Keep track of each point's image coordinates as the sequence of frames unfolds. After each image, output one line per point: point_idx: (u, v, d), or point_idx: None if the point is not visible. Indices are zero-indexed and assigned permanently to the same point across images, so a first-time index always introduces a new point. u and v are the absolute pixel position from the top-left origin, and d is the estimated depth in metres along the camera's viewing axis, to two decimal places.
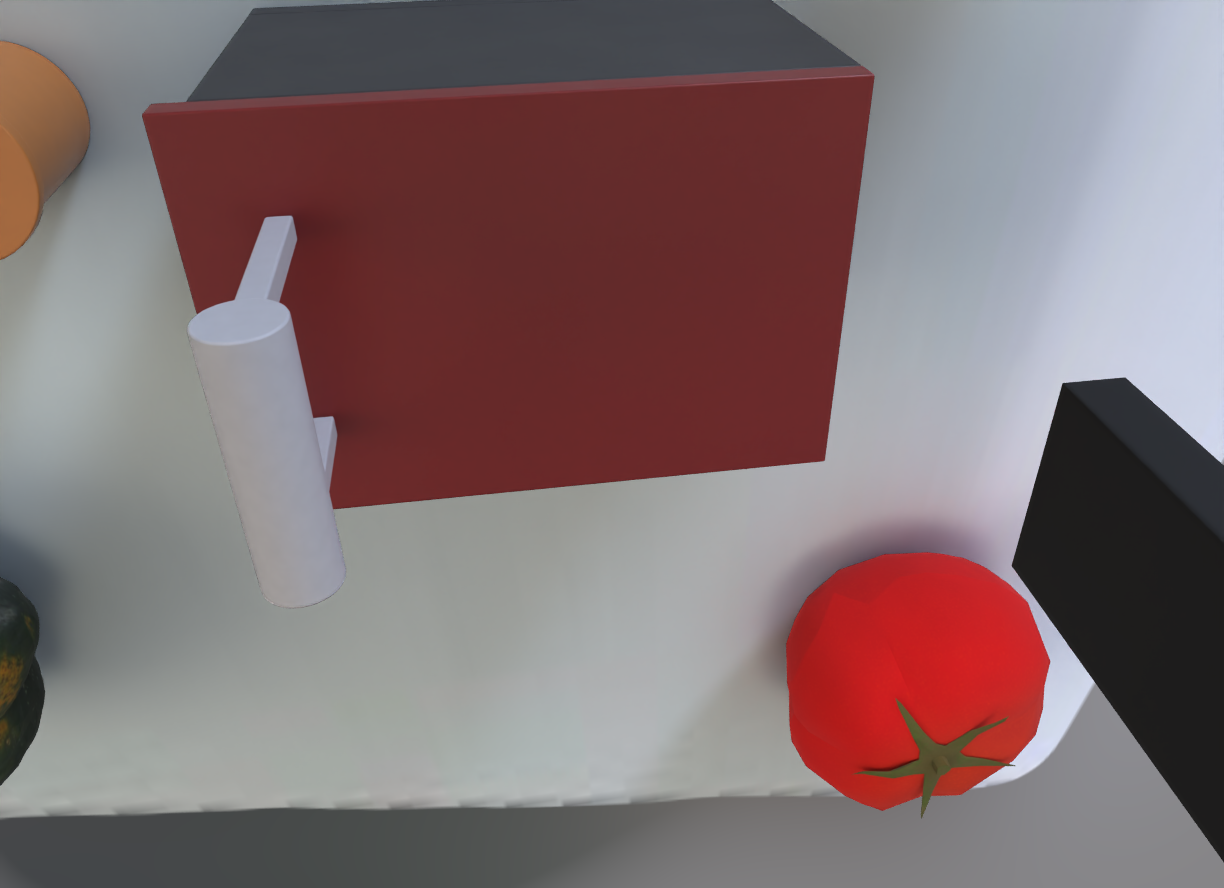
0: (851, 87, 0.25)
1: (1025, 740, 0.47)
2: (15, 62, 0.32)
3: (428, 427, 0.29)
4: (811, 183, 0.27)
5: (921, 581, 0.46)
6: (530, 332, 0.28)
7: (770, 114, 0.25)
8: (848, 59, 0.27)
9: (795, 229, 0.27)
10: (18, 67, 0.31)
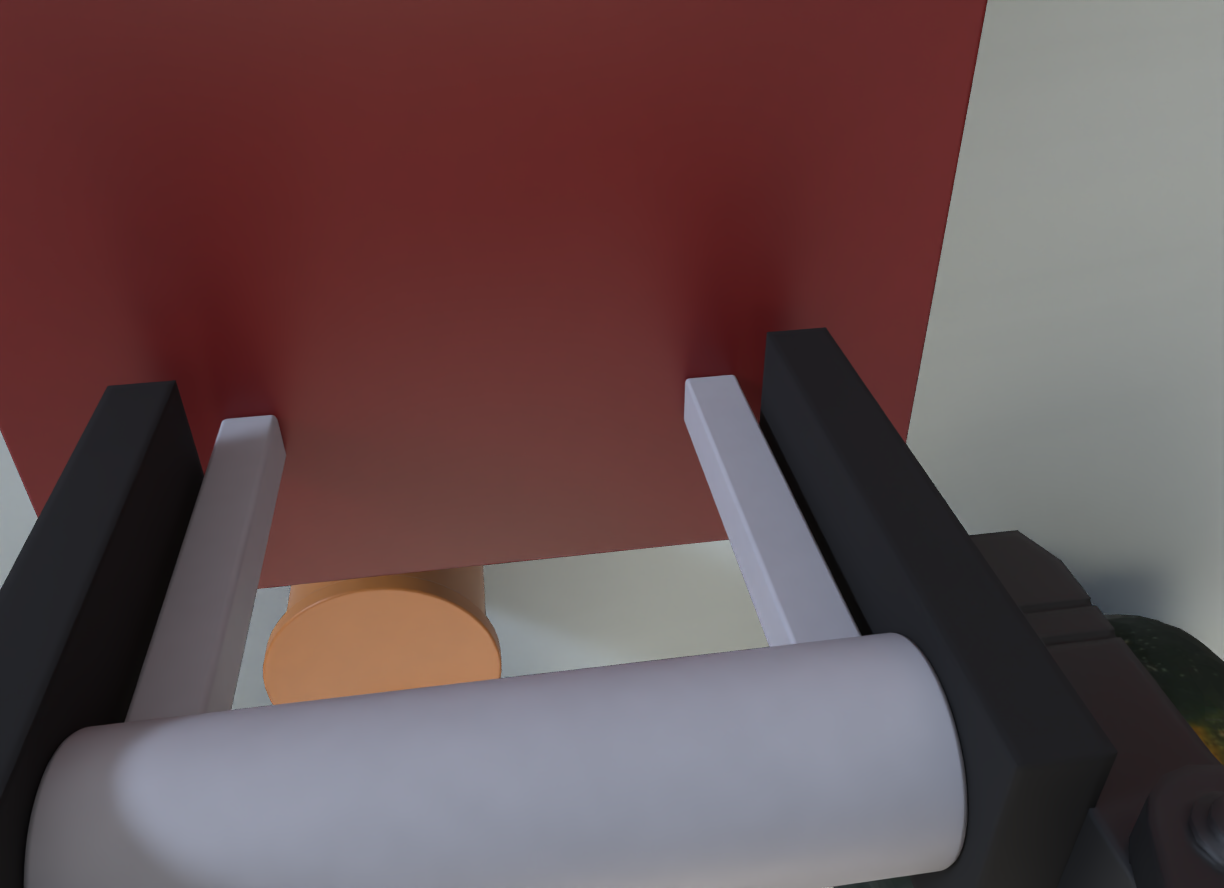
0: None
1: None
2: None
3: (747, 185, 0.12)
4: None
5: None
6: None
7: None
8: None
9: None
10: None
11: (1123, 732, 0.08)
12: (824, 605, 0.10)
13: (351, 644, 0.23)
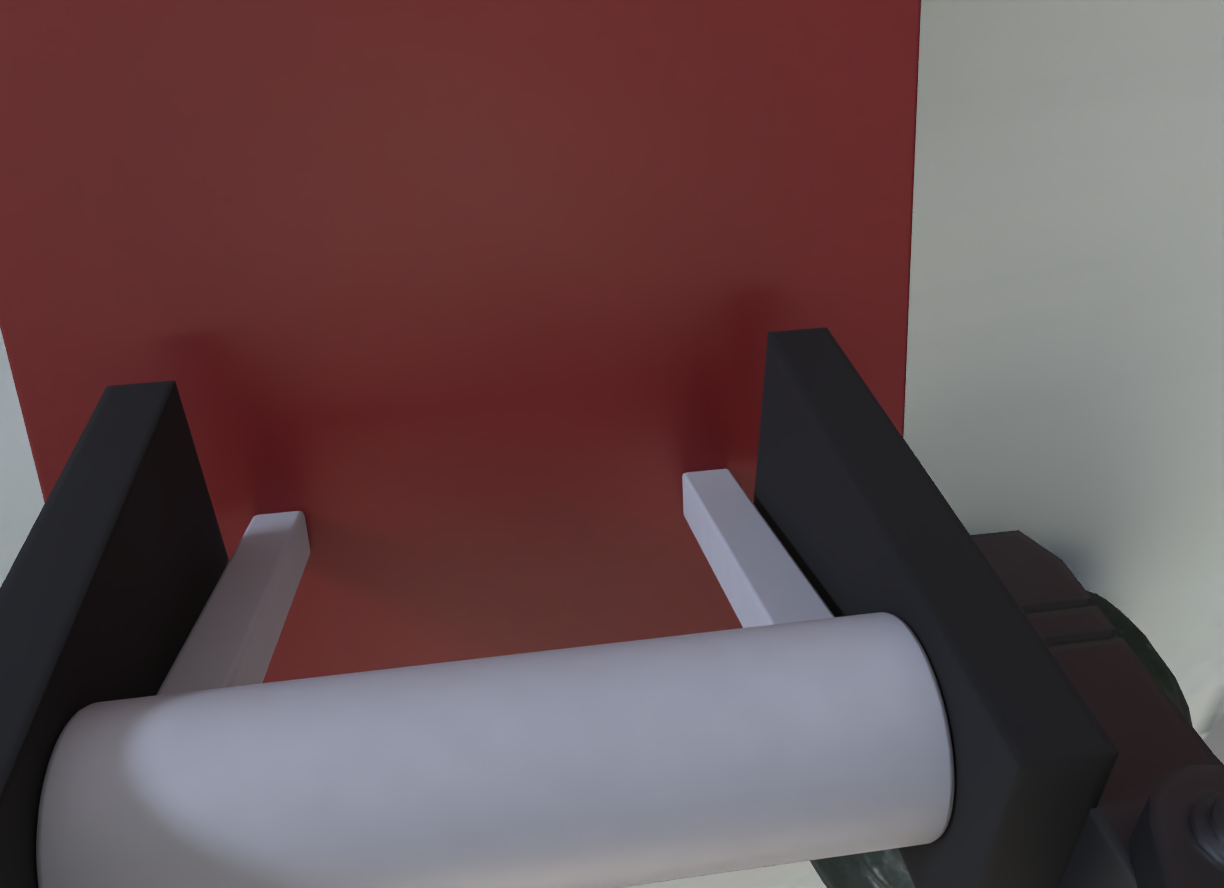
0: None
1: None
2: None
3: (725, 288, 0.14)
4: None
5: None
6: (496, 51, 0.12)
7: None
8: None
9: None
10: None
11: (1125, 732, 0.08)
12: (812, 616, 0.10)
13: None
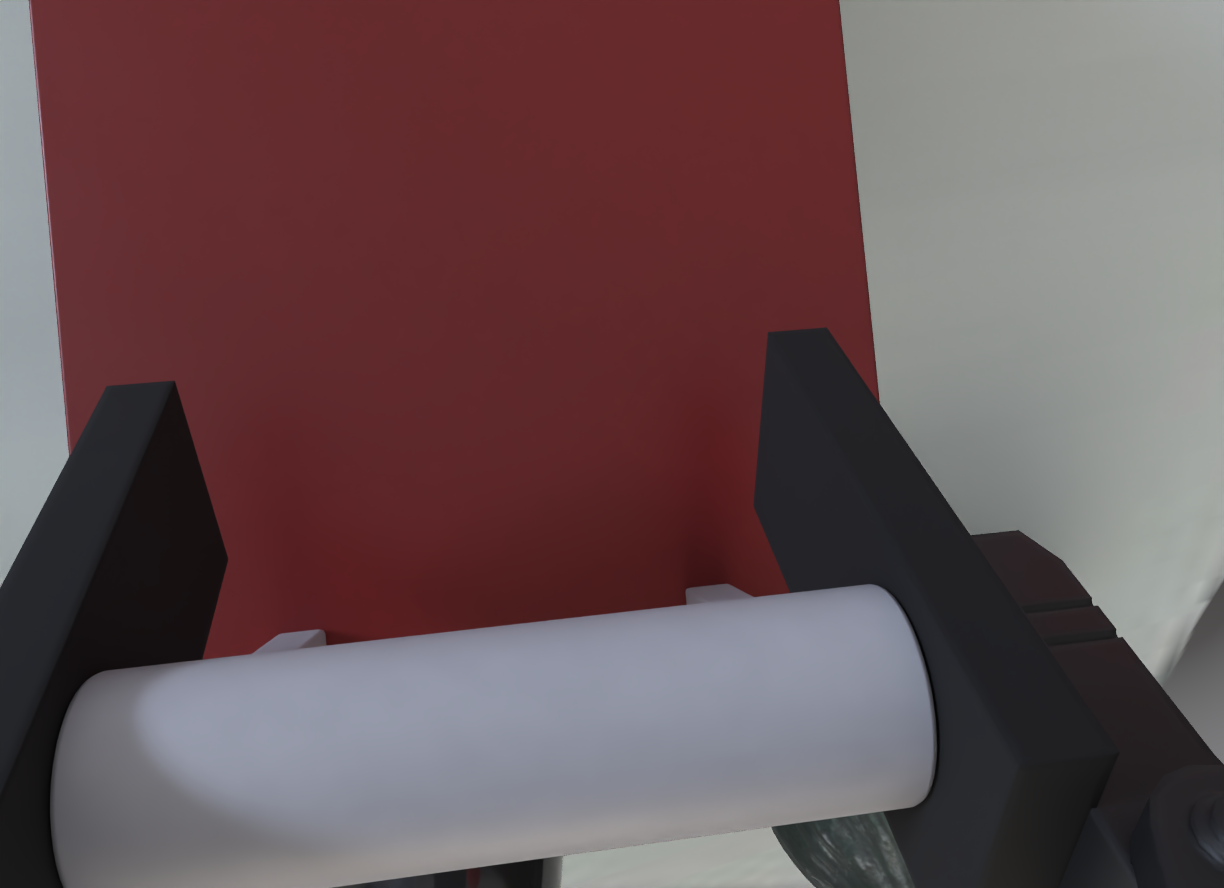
0: None
1: None
2: None
3: (712, 412, 0.15)
4: None
5: None
6: (507, 219, 0.15)
7: None
8: None
9: None
10: None
11: (1123, 732, 0.08)
12: None
13: None
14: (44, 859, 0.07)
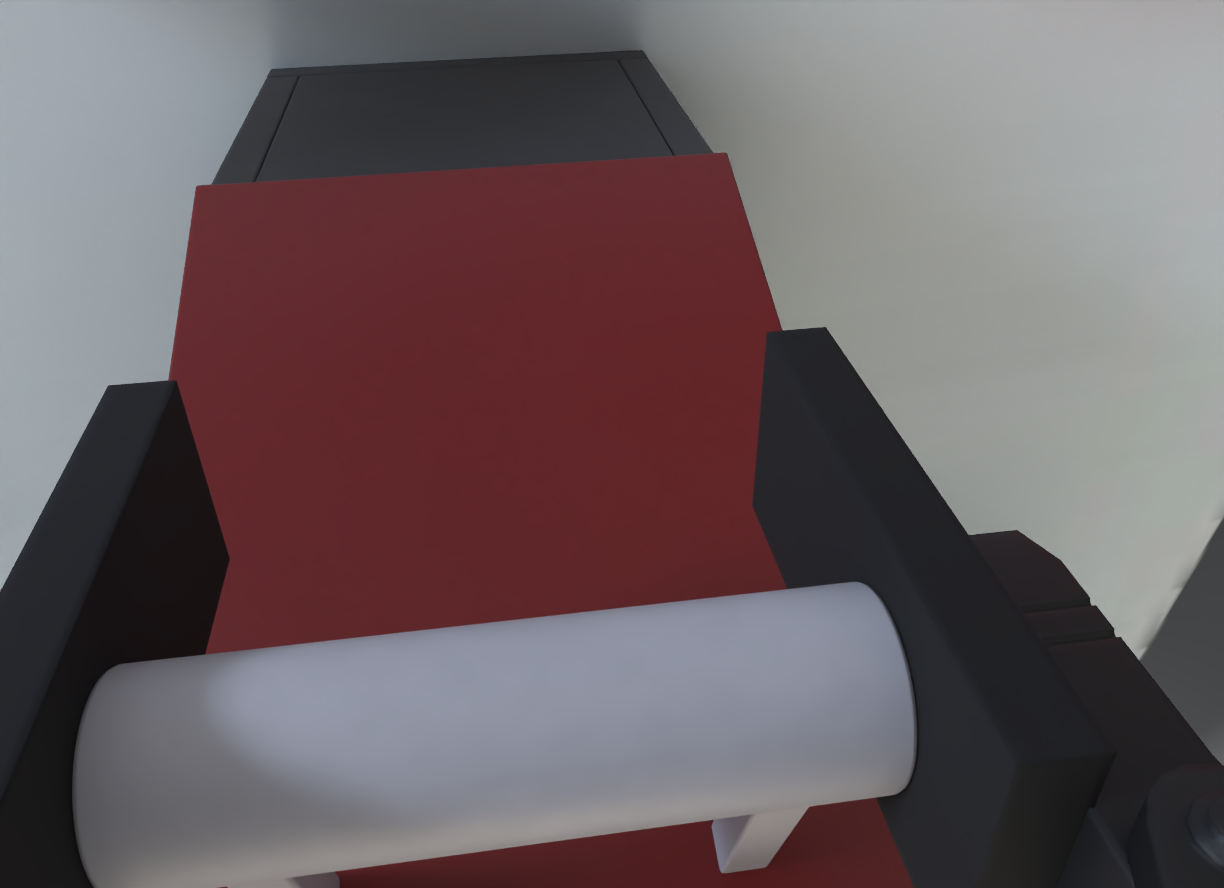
0: (206, 202, 0.22)
1: None
2: None
3: None
4: (320, 219, 0.22)
5: None
6: (529, 505, 0.18)
7: (225, 268, 0.21)
8: None
9: (380, 225, 0.22)
10: None
11: (1121, 733, 0.08)
12: None
13: None
14: (46, 858, 0.07)
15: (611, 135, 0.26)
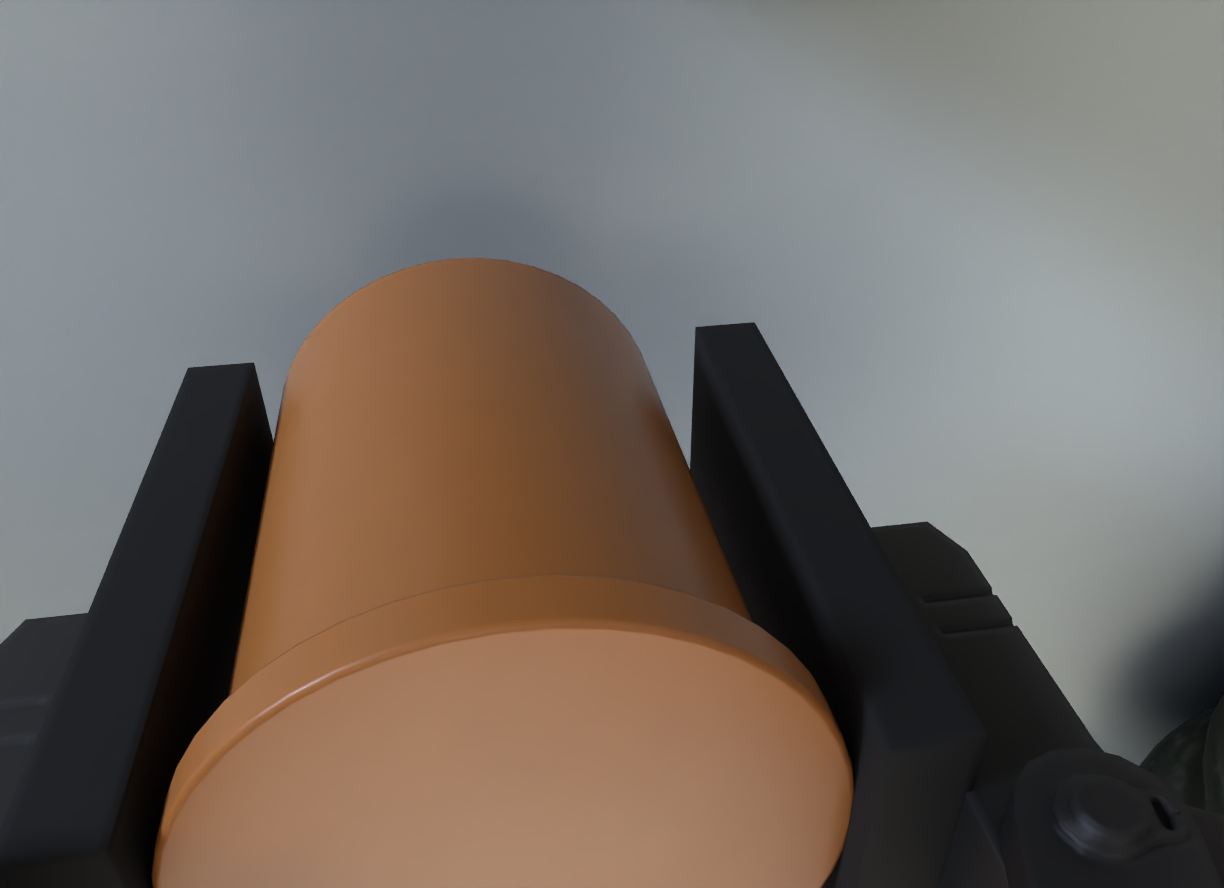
0: None
1: None
2: (281, 431, 0.11)
3: None
4: None
5: None
6: None
7: None
8: None
9: None
10: (286, 434, 0.10)
11: (1007, 718, 0.08)
12: None
13: (432, 800, 0.07)
14: None
15: None
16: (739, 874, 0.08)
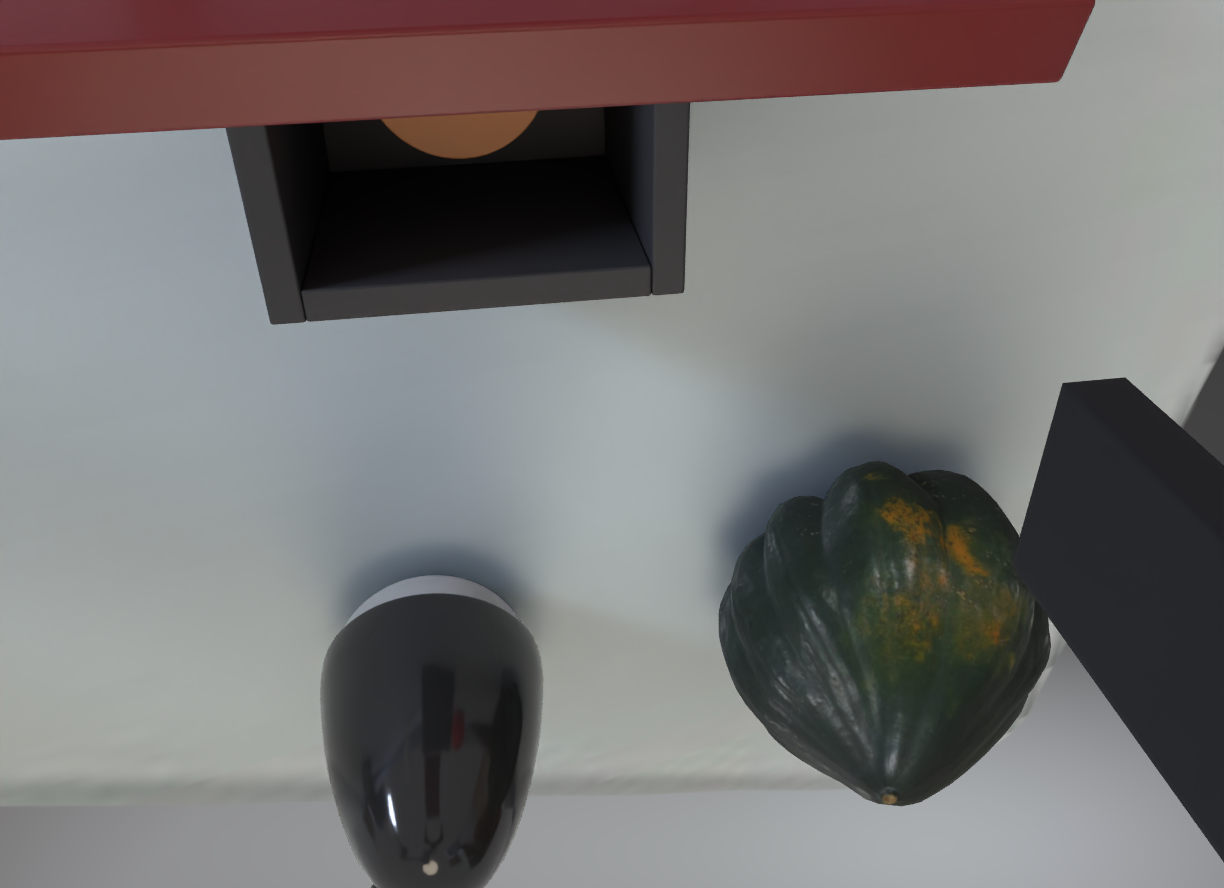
0: None
1: None
2: None
3: None
4: None
5: None
6: None
7: None
8: None
9: None
10: None
11: None
12: None
13: None
14: None
15: None
16: None
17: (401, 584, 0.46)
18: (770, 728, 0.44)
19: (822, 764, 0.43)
